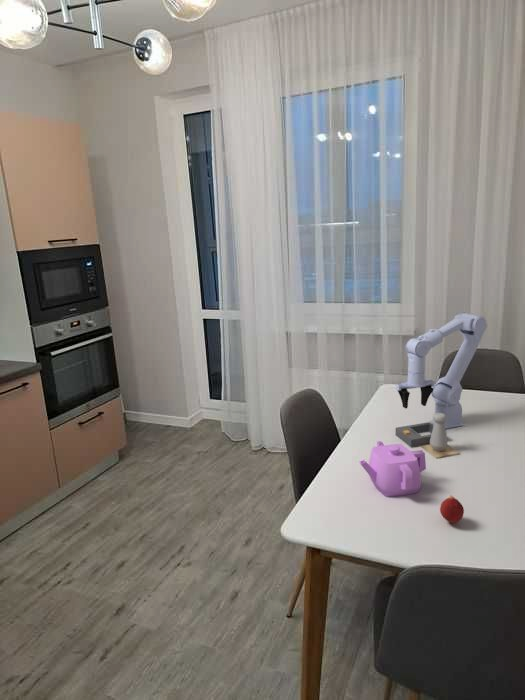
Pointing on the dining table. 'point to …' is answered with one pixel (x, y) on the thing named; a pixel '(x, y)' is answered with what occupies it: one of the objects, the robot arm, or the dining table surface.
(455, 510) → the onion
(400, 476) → the teakettle
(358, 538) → the dining table surface
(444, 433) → the salt shaker
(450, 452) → the oak pad
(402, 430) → the grey flat block
